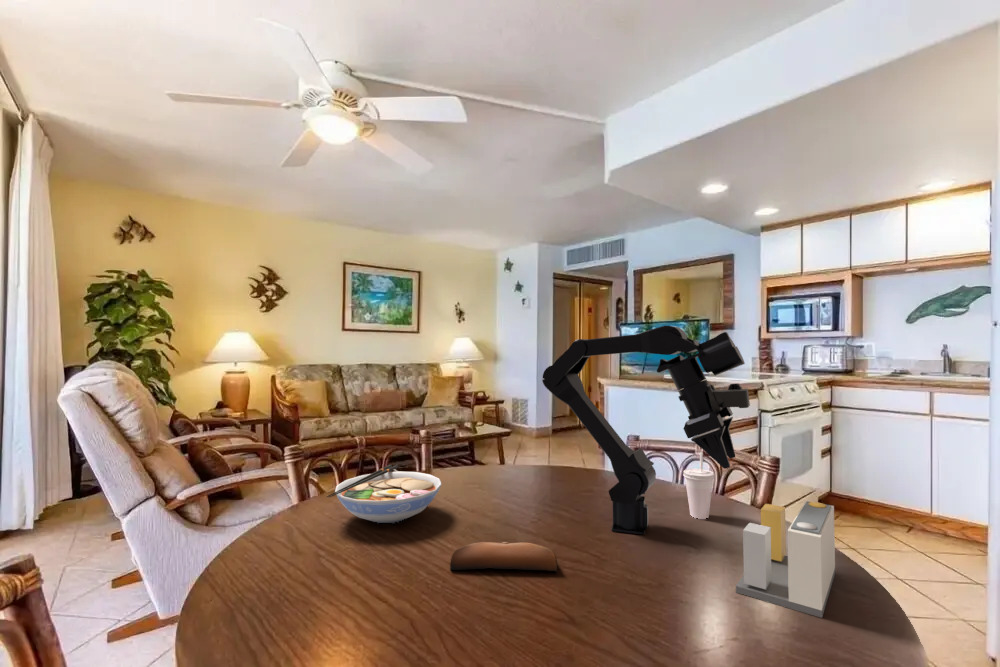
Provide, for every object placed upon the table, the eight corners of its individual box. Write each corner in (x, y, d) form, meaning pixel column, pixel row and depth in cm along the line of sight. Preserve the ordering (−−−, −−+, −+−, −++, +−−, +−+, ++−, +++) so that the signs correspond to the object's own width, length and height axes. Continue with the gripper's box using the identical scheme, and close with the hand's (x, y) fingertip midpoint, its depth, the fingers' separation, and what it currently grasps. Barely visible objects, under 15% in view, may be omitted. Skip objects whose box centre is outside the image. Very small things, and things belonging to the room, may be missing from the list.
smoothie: (718, 522, 104) (717, 456, 104) (686, 520, 105) (685, 454, 105) (711, 512, 110) (710, 449, 110) (681, 510, 111) (680, 448, 112)
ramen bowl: (405, 547, 92) (405, 503, 92) (306, 532, 99) (306, 491, 100) (460, 506, 115) (460, 471, 115) (377, 496, 123) (377, 463, 123)
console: (736, 592, 75) (734, 516, 75) (761, 555, 88) (759, 490, 88) (822, 617, 68) (820, 533, 68) (835, 573, 81) (833, 502, 81)
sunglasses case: (555, 552, 89) (555, 527, 86) (557, 589, 83) (558, 563, 80) (456, 551, 90) (453, 526, 87) (451, 587, 84) (448, 561, 81)
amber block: (761, 556, 84) (760, 509, 84) (766, 549, 87) (765, 503, 87) (781, 561, 82) (780, 513, 82) (785, 553, 85) (785, 507, 85)
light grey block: (743, 583, 74) (743, 530, 74) (750, 573, 77) (749, 522, 78) (765, 589, 72) (765, 534, 73) (771, 579, 75) (770, 527, 76)
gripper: (727, 370, 83) (772, 459, 80) (738, 366, 99) (776, 439, 96) (666, 395, 89) (706, 479, 85) (686, 387, 105) (720, 457, 101)
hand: (730, 462), depth 91 cm, fingers open, 9 cm apart
